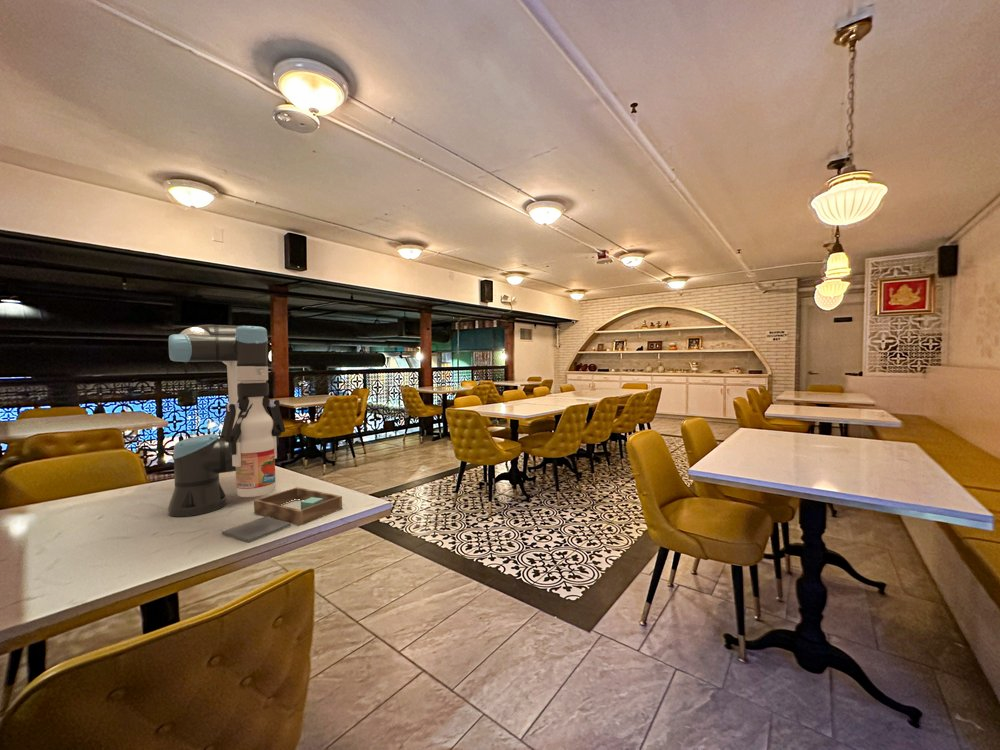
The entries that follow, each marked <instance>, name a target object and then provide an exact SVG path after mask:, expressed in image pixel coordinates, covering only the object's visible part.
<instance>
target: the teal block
mask: <svg viewBox="0 0 1000 750" xmlns="http://www.w3.org/2000/svg"><path fill="white" fill-rule="evenodd" d="M321 502H323V498H315V497H311V498H309V499H306V500H304V501H300V510H302V509H305V508H307V507H310V506H313V505H316V504H318V503H321Z"/></svg>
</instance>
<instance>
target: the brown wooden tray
mask: <svg viewBox="0 0 1000 750" xmlns="http://www.w3.org/2000/svg"><path fill="white" fill-rule="evenodd" d="M311 497H315V498H323V502H321V503H318V504H316V505H313V506H310V507H307V508H305V509H302V510H301V509H299V508H295V507H289V506H285V505H284V504H283V503H286V502H289V501H291V500H294V499H300V500H306V499H309V498H311ZM289 503H290V502H289ZM281 504H283V505H281ZM286 504H287V503H286ZM341 508H342V509H343V496H342V495H337V494H333V493H329V492H328V493H327V492H322V491H317V490H313V489H308V488H303V487H297V486H296V487H293V488H291V489H287V490H284V491H280V492H277V493H274V494H271V495H268V496H267V495H266V496H264V497H261V498H257V499H254V500H253V513H254V514H256V515H261V516H262V517H265V516H266V517H269V518H273V519H277V520H280V521H284V522H288V523H291V524H295V525H298V526H302V525H305V524H307V523H310V522H311V521H315V520H318V519H320V518H322V517H324V516H323V515H325V516H327V515H329V514H328V513H330V514H332V513H335V512H337V511H339V510H338V509H340V510H342V509H341ZM336 510H337V511H336ZM334 511H335V512H334ZM331 512H332V513H331ZM326 514H327V515H326ZM319 517H320V518H319Z"/></svg>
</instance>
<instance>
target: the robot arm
mask: <svg viewBox="0 0 1000 750" xmlns="http://www.w3.org/2000/svg"><path fill="white" fill-rule="evenodd" d="M268 341H269V337H268V330H267V328H265V327H263V326H258V325H257V326H255V325H244V324H242V325H230V324H229V325H227V324H223V325H222V324H199V325H195V326H191V327H188V328H185V329H184V330H182V331H181V332H180V333H178V334H176V333H175V334H171V335H169V336H168V357H169V359H170V361H173V362H182V363H188V362H190V363H191V362H192V363H194V362H197V363H199V362H222V363H223V364H224V365H226V372H227V373H226V374H227V375H226V376H227V387H228V388H227V390H228V403H226V404H225V405H224V406H225V416H224V420H223V423H222V429H221V433H220V437H219V435H218V434H216V433H211V434H203V435H198V436H192V437H189V438H184V439H182V440H180V441H178V442H176V443H175V444H174V446H173V456H172V459H173V469H174V470H173V473H174V476H173V477H174V490H173V492H172V495H171V498H170V500H169V504H168V506H167V507H168V509H167V510H168V512H167V513H168V515H169V516H171V517H179V518H180V517H191V516H198V515H202V514H207V513H210V512H214V511H218V510H220V509H221V508H223V507H225V506H226V505H227V496H226V494H225V490H224V489H223V487H222V484H221V483H220V474H224V473H231V472H232V473H233V472H236V467H241V446H240V442H237V440H238V438H239V436H240V434H241V423H239V424H237V421H236V420H238V419H239V418H241V417H242V420H243V419H244V418H246V417H247V414H248V412H249V409H251V407H252V405H253V404H251V405H250V407H249V408H248V404H249V399H248V397H258V396H264V398H263V403H262V405H263V407H264V408H265V411H266V412H267V413H268V414H269V415H270V412H271V418H272V420H273V429H272V436H273V438H274V446H275V460H276V459H278V450H277V447H279V445H280V439H279V438H280V436H281V435H282V433H285V432H286V427H285V424H284V421H283V416H282V413H281V410H280V404H281V403H280V400H279V399H270V398H269V394H270V388H269V386H270V384H269V383H268V382H267V381H269V364H268V363H269V361H268V357H269V356H268V354H269V353H268ZM268 407H269V409H270V412H269V411H268V409H267V408H268ZM247 408H248V410H247ZM246 411H247V412H246ZM242 412H246V414H245V415H241V414H242ZM241 422H242V421H241Z"/></svg>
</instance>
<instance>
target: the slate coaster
mask: <svg viewBox="0 0 1000 750" xmlns="http://www.w3.org/2000/svg"><path fill="white" fill-rule="evenodd" d="M291 526H292V523H289V522H286V521H282V520H278V519H275V518H271V517H267V516H262V517H260V518H257V519H254V520H250V521H248V522H244V523H242V524H239V525H237V526H234V527H231V528H228V529H225V530H222V535H224V536H228V537H229V538H233V539H235V540H236V539H237V540H239V541H243V542H245V543H252V542H254V541H257V540H259V539H262V538H265V537H267V536H270V535H272V534H274V533H277V532H279V531H282V530H285V529H287V528H289V527H291Z"/></svg>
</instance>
